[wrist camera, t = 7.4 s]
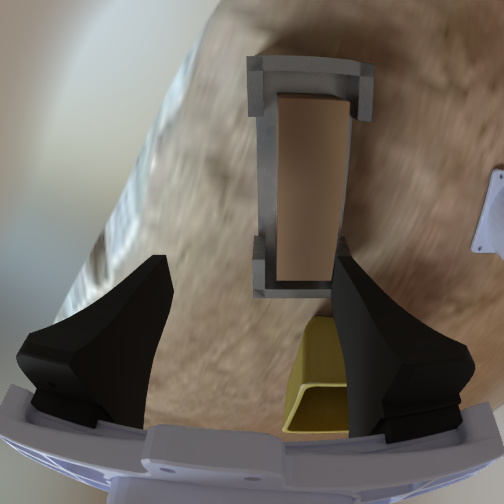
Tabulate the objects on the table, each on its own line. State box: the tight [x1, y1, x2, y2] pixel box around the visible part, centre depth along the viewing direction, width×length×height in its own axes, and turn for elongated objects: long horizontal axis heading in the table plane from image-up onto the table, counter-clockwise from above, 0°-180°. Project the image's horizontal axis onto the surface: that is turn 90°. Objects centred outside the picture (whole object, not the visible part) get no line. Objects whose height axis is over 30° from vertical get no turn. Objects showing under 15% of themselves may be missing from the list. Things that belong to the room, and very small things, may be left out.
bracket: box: [246, 55, 374, 298], centre depth 19 cm, size 7×16×4 cm, turn 1°
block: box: [276, 92, 350, 281], centre depth 18 cm, size 4×11×4 cm, turn 1°
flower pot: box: [282, 316, 349, 433], centre depth 26 cm, size 9×9×9 cm
